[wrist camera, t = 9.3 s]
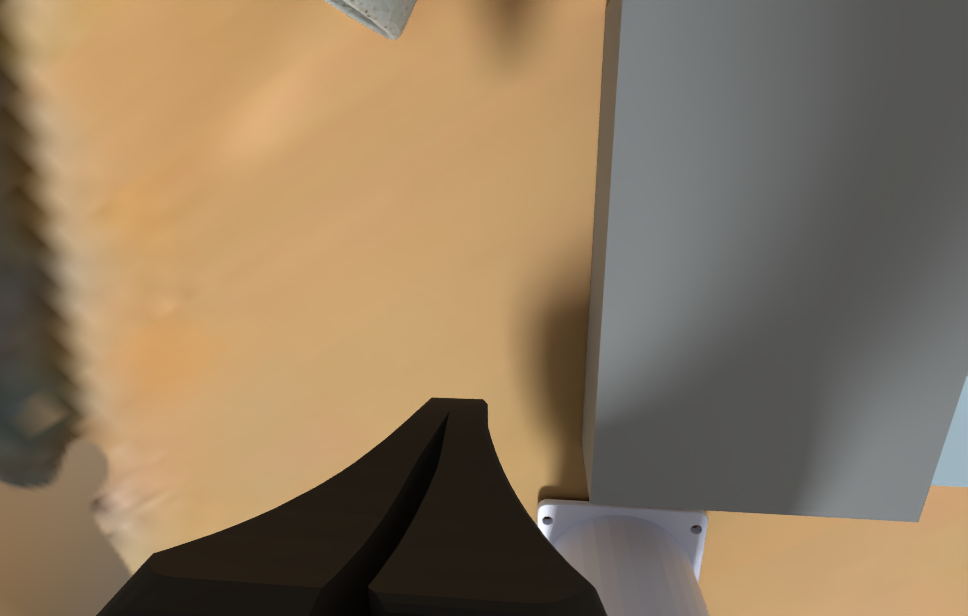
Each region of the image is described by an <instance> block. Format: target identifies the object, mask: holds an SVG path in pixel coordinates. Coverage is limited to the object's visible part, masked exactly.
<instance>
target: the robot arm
mask: <svg viewBox="0 0 968 616" xmlns="http://www.w3.org/2000/svg"><path fill="white" fill-rule="evenodd" d="M546 516H549V517H551V518H550V519H544V517H546ZM694 525H698V527H696V528H691V527H692V526H694ZM707 526H708V517H707V514H706V513H705V511H704V510H692V509H674V508H656V507H639V506H621V505H603V504H590V501H575V500H557V499H544V500H542V501H540V502H539V503H538V506H537V525H536V524H535V522H534V521H533V520H532V518H531V517H530V516H529V514H528V513H527V511H526V510H525V508H524V507H523V505H522V504H521V502H520V500H519V499H518V497H517V495H516V494H515V492H514V490H513V488H512V487H511V485H510V483H509V481H508V479H507V477H506V475H505V473H504V471H503V468H502V466H501V464H500V462H499V459H498V457H497V454H496V451H495V448H494V445H493V442H492V439H491V436H490V433H489V429H488V404H487V403H486V402H485V401H484V400H483V399H456V398H431V399H430V400H429V401H428V402H426V403H425V404H424V405H423V406H422V407H421V408H420V409H419V410H418V411H416V412H415V413H414V414H413V415H412V416H411V417H410V418H409V419H408V420H407V421H405V422H404V423H403V424H402V425H401V426H400V427H399V428H398V429H396V430H395V431H394V432H393V433H392V434H391V435H390V436H388V437H387V438H386V439H385V440H384V441H382V442H381V443H380V444H378V445H377V446H376V447H374V448H373V449H372V450H371V451H369V452H368V453H367V454H365V455H364V456H363V457H362V458H360V459H359V460H358V461H356V462H355V463H353V464H352V465H350V466H349V467H347V468H346V469H344V470H343V471H341V472H340V473H338V474H337V475H335V476H333V477H332V478H330V479H329V480H327V481H325V482H324V483H322V484H320V485H319V486H317V487H315V488H313V489H311V490H309V491H307V492H306V493H304V494H302V495H300V496H298V497H296V498H294V499H292V500H290V501H288V502H286V503H284V504H283V505H281V506H279V507H277V508H274V509H272V510H270V511H268V512H266V513H263V514H261V515H259V516H257V517H254V518H252V519H250V520H247V521H245V522H242V523H240V524H237V525H235V526H233V527H230V528H228V529H225V530H222V531H220V532H217V533H214V534H211V535H208V536H205V537H202V538H199V539H197V540H194V541H191V542H188V543H185V544H182V545H179V546H176V547H173V548H170V549H167V550H163V551H160V552H157V553H153V554H152V555H151V556H150V558H149V559H148V560H147V561H146V562H145V563H144V564H143V565H142V566H141V567H140V568H139V569H138V570H137V572H136V573H135V574H134V575H133V576H132V577H131V578H130V579H129V580H128V581H127V583H126V584H125V585H124V586H123V587H122V588H121V589H120V590H119V592H117V594H116V595H115V596H114V597H113V598H112V599H111V600H110V601H109V602H108V603H107V604H106V606H105V607H104V608H103V609H102V610H101V611H100V612H99V613H98V614H97V615H96V616H710V615H709V612H708V610H707V607H706V604H705V601H704V598H703V596H702V593H701V590H700V587H699V584H698V582H699V575H700V569H701V563H702V557H703V551H704V544H705V538H706V532H707Z"/></svg>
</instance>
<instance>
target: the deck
mask: <svg viewBox="0 0 968 616" xmlns="http://www.w3.org/2000/svg"><path fill="white" fill-rule="evenodd" d="M967 374H968V0H610V2H609V3H608V5H607V7H606V12H605V31H604V49H603V67H602V85H601V103H600V121H599V139H598V157H597V175H596V193H595V211H594V229H593V247H592V265H591V283H590V301H589V319H588V337H587V356H586V374H585V392H584V410H583V428H582V451H583V459H584V466H585V473H586V480H587V487H588V494H589V501H590V504H603V505H621V506H639V507H656V508H674V509H692V510H710V511H728V512H745V513H763V514H781V515H799V516H817V517H834V518H852V519H870V520H888V521H906V522H919V519H920V516H921V513H922V510H923V507H924V504H925V501H926V498H927V495H928V491H929V488H930V485H931V482H932V479H933V476H934V473H935V470H936V467H937V464H938V461H939V458H940V455H941V452H942V449H943V446H944V443H945V440H946V437H947V434H948V431H949V428H950V425H951V422H952V419H953V416H954V413H955V410H956V407H957V404H958V401H959V398H960V395H961V392H962V389H963V386H964V383H965V380H966V377H967Z"/></svg>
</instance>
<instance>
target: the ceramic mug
mask: <svg viewBox="0 0 968 616" xmlns="http://www.w3.org/2000/svg"><path fill="white" fill-rule="evenodd" d="M324 1H326V2H327V3H329V4H331V5H332V6H334V7H335V8H337V9H339V10H340V11H342V12H344V13H345V14H346V15H348V16H349V17H351V18H353V19H355V20H356V21H358V22H359V23H361V24H363V25H365V26H366V27H368V28H370V29H371V30H373V31H375V32H376V33H378V34H380V35H382V36H384V37H385V38H387V39H391V40H396V39H397V38H399V37H400V36H401V34H402V32H403V30H404V28H405V26H406V24H407V22H408V19H409V17H410V15H411V13H412V10H413V8H414V6H415V4H416V1H417V0H324Z"/></svg>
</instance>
